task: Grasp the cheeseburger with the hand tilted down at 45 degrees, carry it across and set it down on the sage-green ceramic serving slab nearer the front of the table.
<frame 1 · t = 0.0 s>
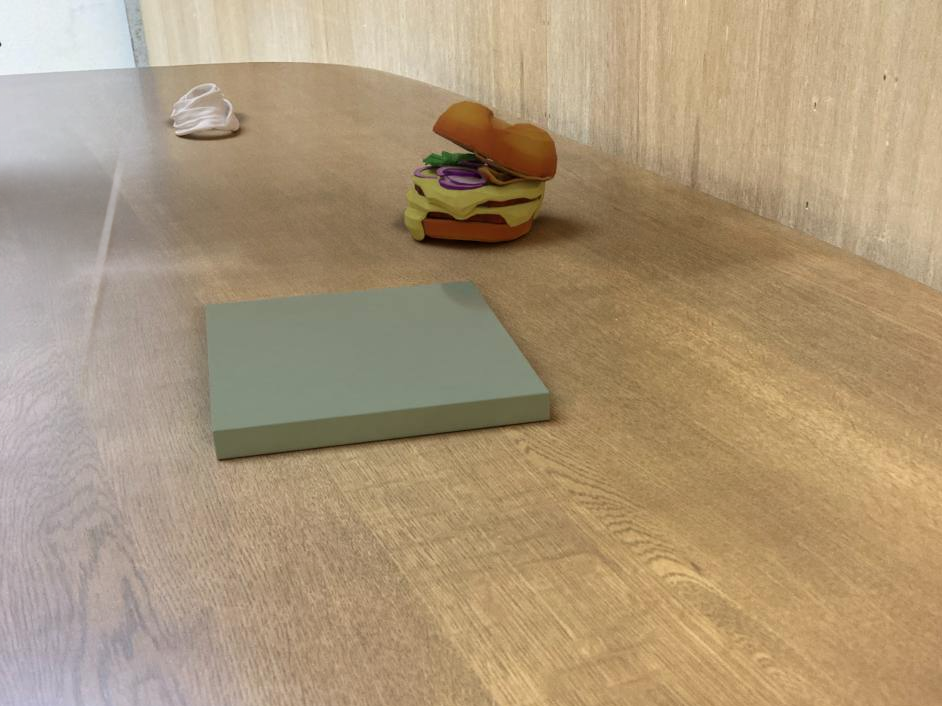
cheeseburger: (479, 232, 85), on the table
serving slab: (363, 370, 62), on the table
whipped cream: (207, 134, 117), on the table
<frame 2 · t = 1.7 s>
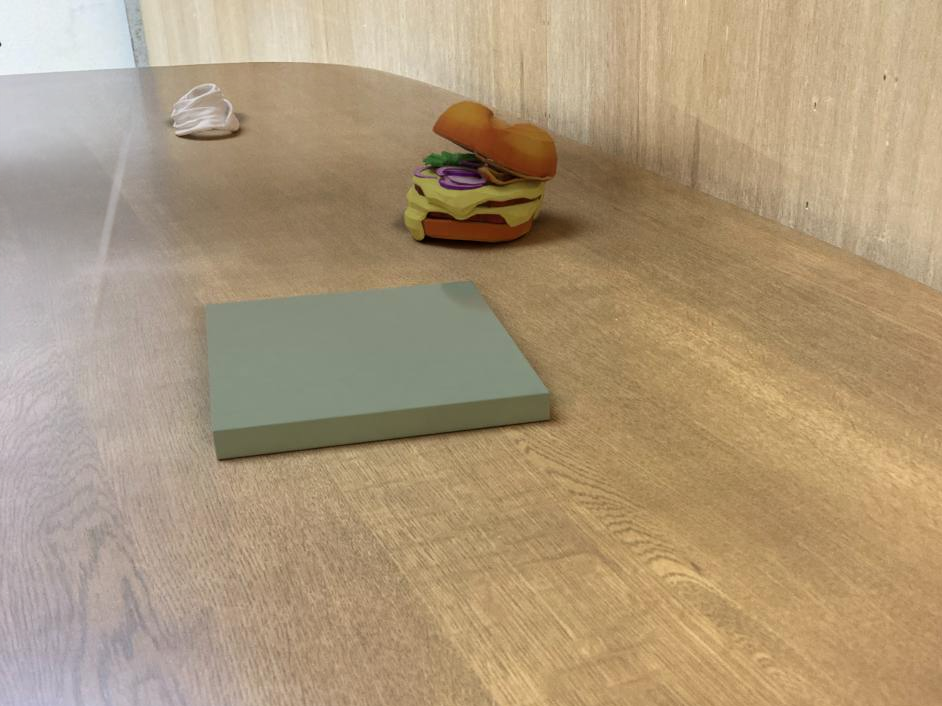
nothing on the table moved.
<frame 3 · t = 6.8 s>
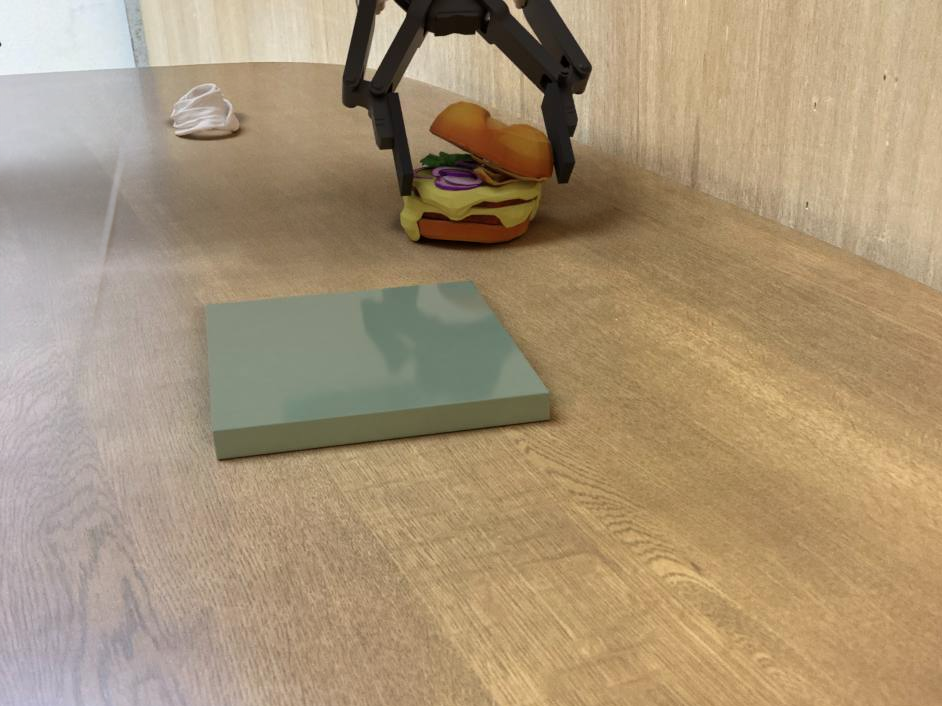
hand: (488, 179, 81), 4 cm above the table, tool tilted 45°, fingers closed on cheeseburger, 11 cm apart
cheeseburger: (476, 233, 85), on the table, touching gripper
everything else where it was.
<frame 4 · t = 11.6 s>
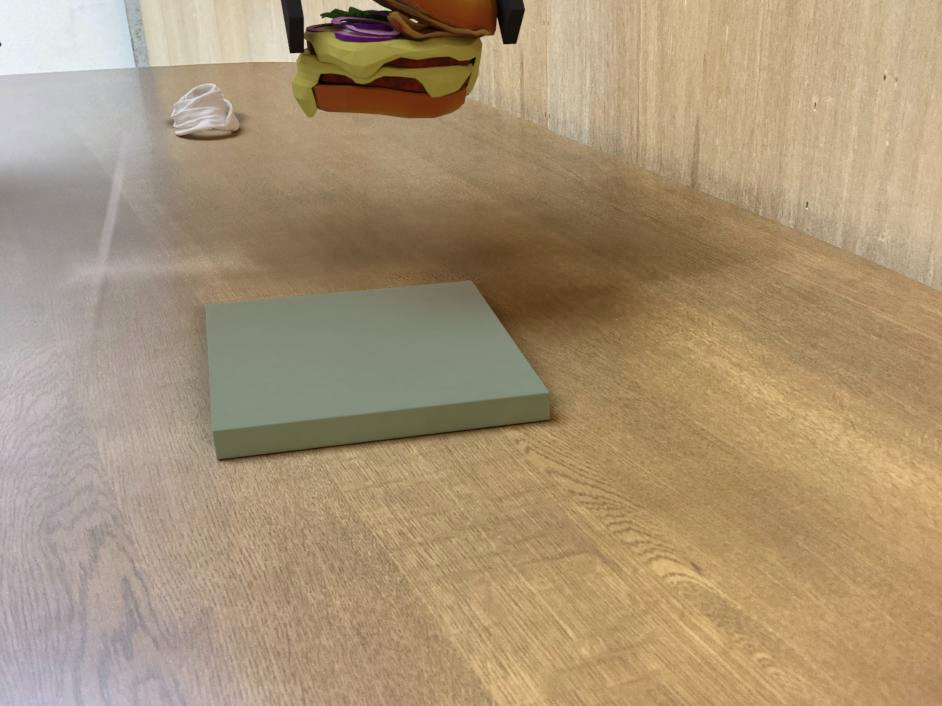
hand: (407, 31, 60), 16 cm above the table, tool tilted 45°, fingers closed on cheeseburger, 11 cm apart
cheeseburger: (396, 112, 65), point 11 cm above the table, touching gripper
everything else where it was.
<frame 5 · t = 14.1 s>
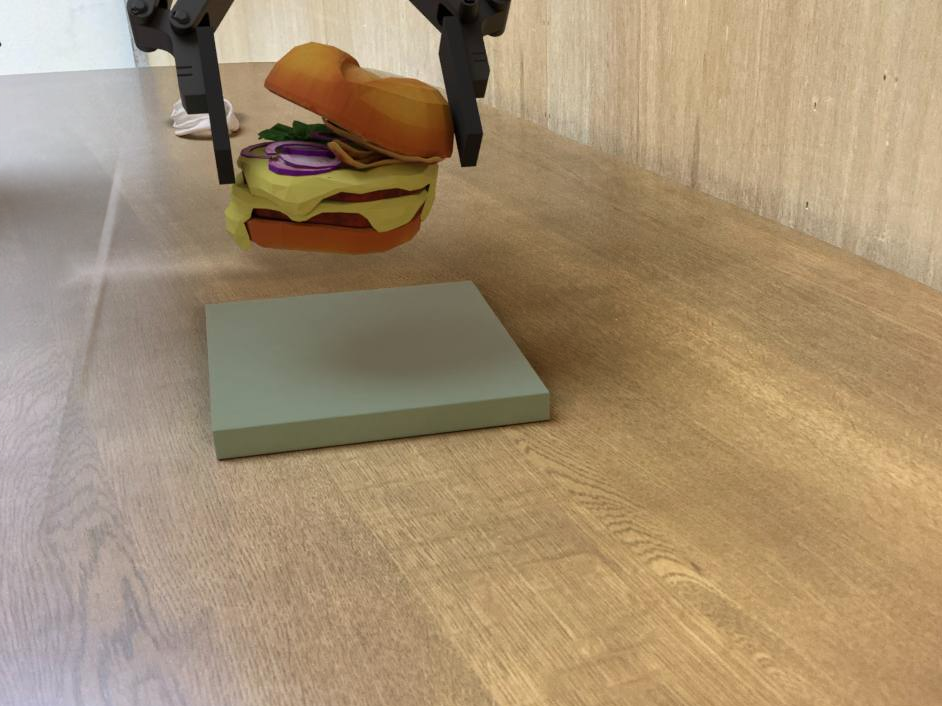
hand: (351, 159, 54), 12 cm above the table, tool tilted 45°, fingers closed on cheeseburger, 11 cm apart
cheeseburger: (343, 240, 58), point 7 cm above the table, touching gripper
everything else where it was.
when the fingers open (6 cm above the table, at t = 16.3 s): cheeseburger stays where it is, resting on serving slab.
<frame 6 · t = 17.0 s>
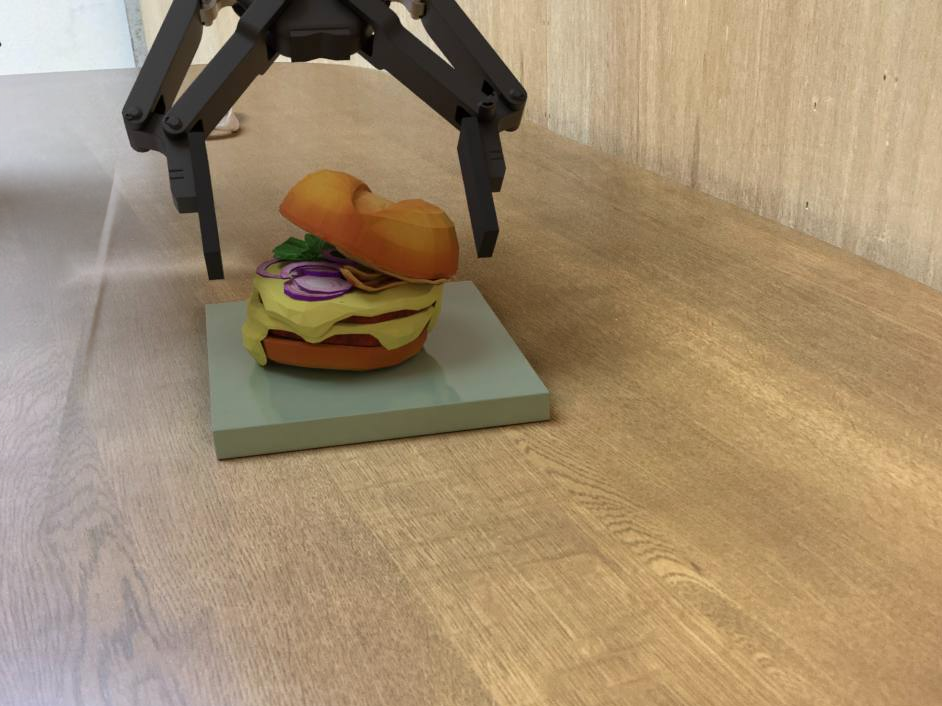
hand: (355, 256, 57), 7 cm above the table, tool tilted 45°, fingers open, 13 cm apart
cheeseburger: (354, 349, 61), point 1 cm above the table, touching serving slab
everything else where it was.
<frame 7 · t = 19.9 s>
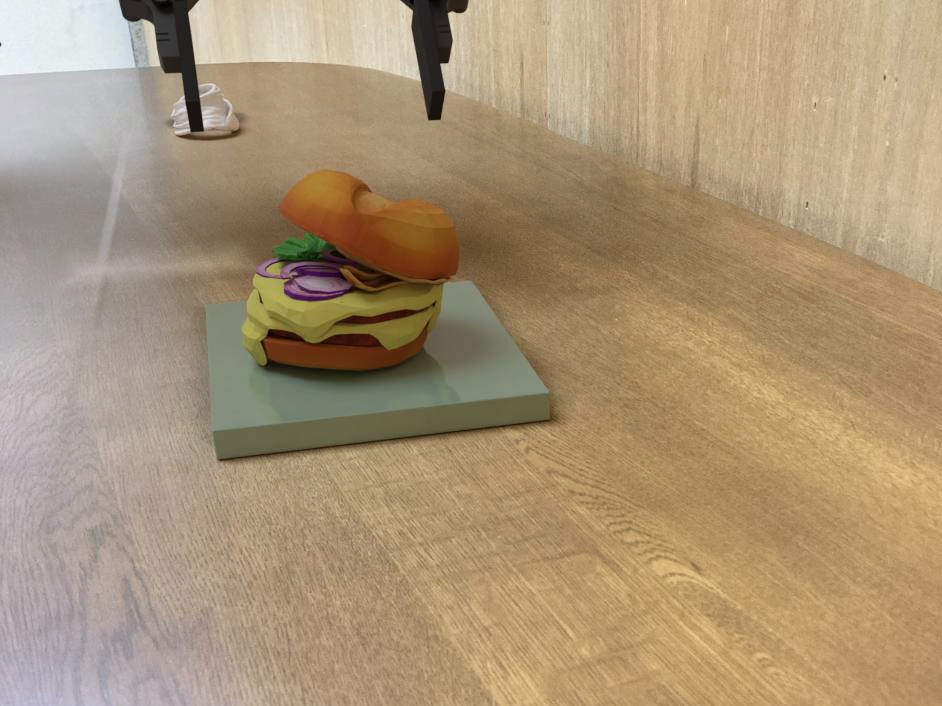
hand: (318, 112, 65), 12 cm above the table, tool tilted 45°, fingers open, 13 cm apart
nothing on the table moved.
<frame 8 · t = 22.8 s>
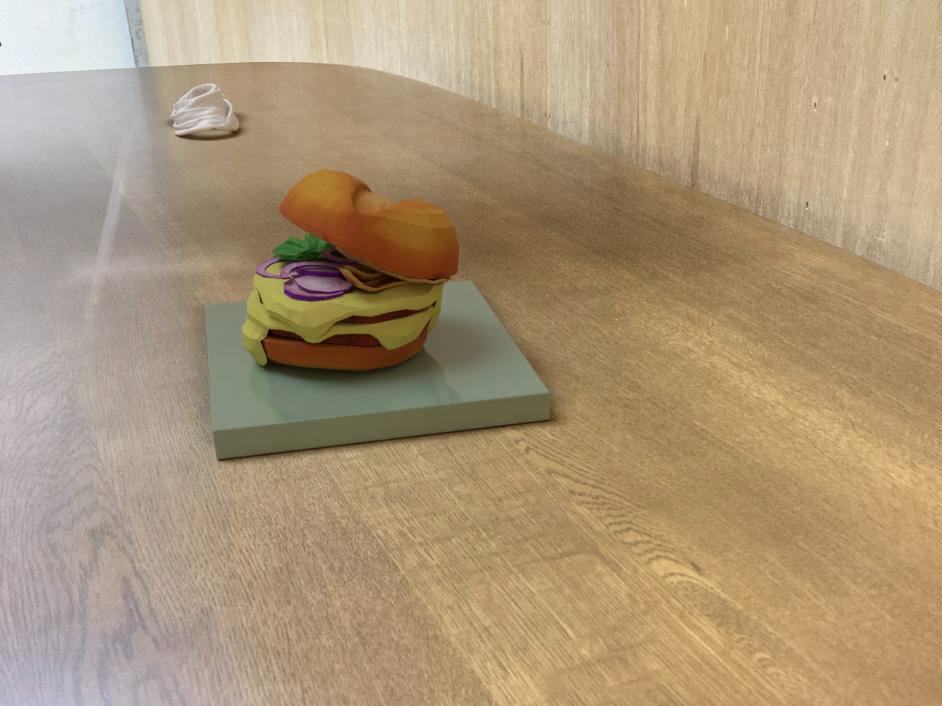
nothing on the table moved.
at the end: cheeseburger inside the target area on the serving slab (0.4 cm from its centre), point 1.3 cm above the serving slab's base; cheeseburger tilted 0°; the gripper is holding nothing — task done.
